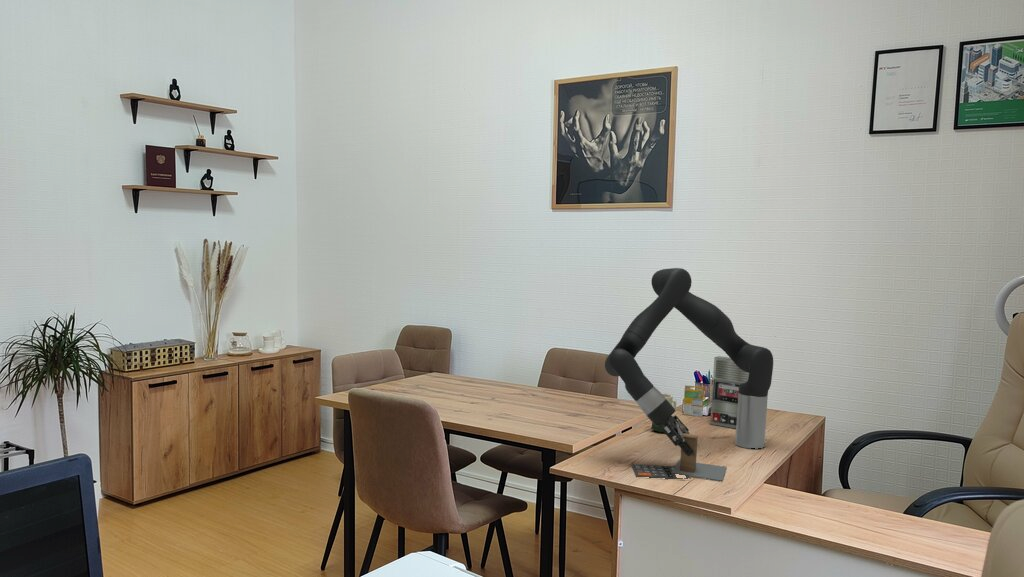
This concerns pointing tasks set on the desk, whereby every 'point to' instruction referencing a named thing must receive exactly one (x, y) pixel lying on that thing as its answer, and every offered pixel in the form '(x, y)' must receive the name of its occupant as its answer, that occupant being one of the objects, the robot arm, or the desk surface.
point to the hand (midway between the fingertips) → (693, 450)
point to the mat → (703, 471)
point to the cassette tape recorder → (726, 391)
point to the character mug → (670, 400)
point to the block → (690, 461)
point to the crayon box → (693, 401)
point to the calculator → (655, 471)
